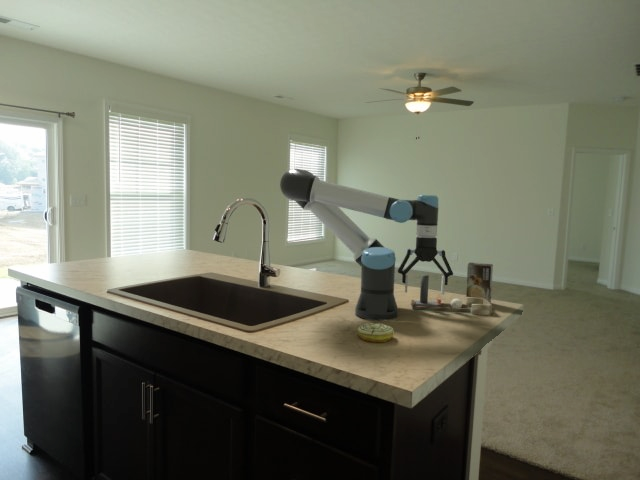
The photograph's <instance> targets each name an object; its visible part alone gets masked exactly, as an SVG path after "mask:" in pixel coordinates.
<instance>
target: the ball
mask: <svg viewBox="0 0 640 480" xmlns="http://www.w3.org/2000/svg"><path fill="white" fill-rule="evenodd" d="M450 303H451V306H452V308H461V307H462V304H463V303H462V301H461V299H459V298H453V299H452V300H451V301H450Z"/></svg>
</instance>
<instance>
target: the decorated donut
mask: <svg viewBox="0 0 640 480" xmlns="http://www.w3.org/2000/svg"><path fill="white" fill-rule="evenodd" d="M394 334H395V331H394V328H393V327H392V326H389V325H387V324H383V323H378V322H375V323H373V322H371V323H369V322H368V323H363V324H360V326H359V327H358V328H357V335H358V336H359V338H361V340H364V341H365V340H366V341H365V342H369V341H371V342H370V343H376V342H380V343H386V342H389V341H390V340H391V339H392V338H393V336H394ZM388 340H389V341H388Z"/></svg>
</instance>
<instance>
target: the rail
mask: <svg viewBox="0 0 640 480" xmlns="http://www.w3.org/2000/svg"><path fill="white" fill-rule="evenodd" d="M415 301H416V300H415V299H411V303H410V306H411V305H412V307H411V310H412V309H413V310H431V311H450V312H469V313H471V309H467V304H466V303H462V307H461V308H448V307H452V306H451V302H450V303H449V302H441V307H428V306H416V305H415Z"/></svg>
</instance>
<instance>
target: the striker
mask: <svg viewBox="0 0 640 480" xmlns="http://www.w3.org/2000/svg"><path fill="white" fill-rule="evenodd" d="M429 279H430V276H429V275H428V274H421V275H420V289H419V290H420V293H419V294H420V295H419V296H420V297H419V300H414V301H415V305H416V306H428V307H441V303H442V299H441V297H440V296H436V301H429V300H428V299H429Z"/></svg>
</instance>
